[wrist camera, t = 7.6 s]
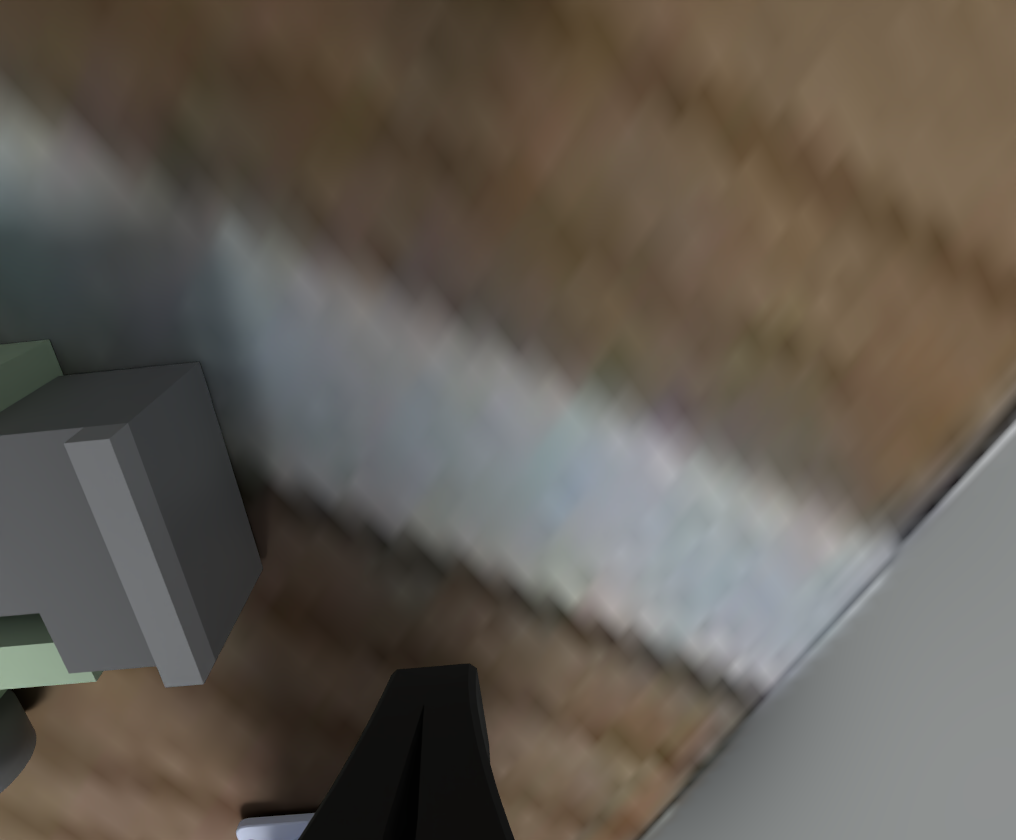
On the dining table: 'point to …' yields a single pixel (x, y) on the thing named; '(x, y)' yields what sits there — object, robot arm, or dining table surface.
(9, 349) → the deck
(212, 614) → the grey stepped block
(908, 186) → the dining table surface
